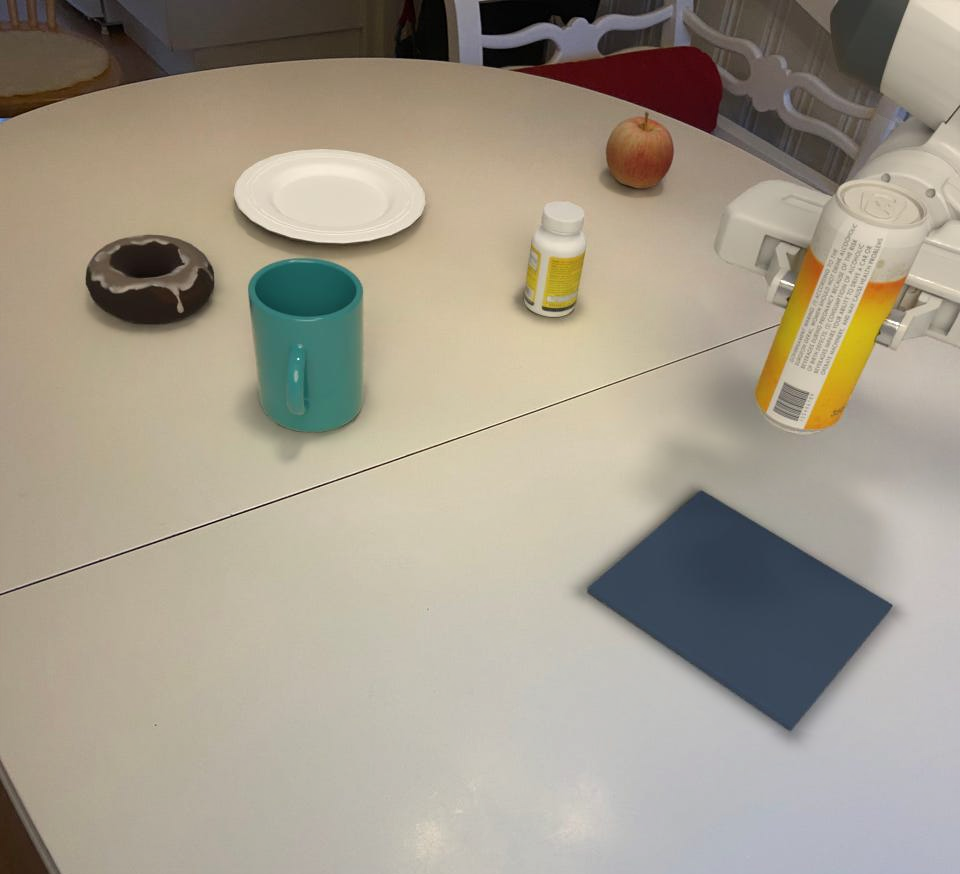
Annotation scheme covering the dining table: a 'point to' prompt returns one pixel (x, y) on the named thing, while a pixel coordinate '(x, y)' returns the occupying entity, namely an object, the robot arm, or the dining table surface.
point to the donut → (150, 279)
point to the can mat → (743, 606)
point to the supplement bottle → (556, 260)
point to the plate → (329, 197)
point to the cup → (308, 343)
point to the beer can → (840, 303)
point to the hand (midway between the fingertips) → (833, 316)
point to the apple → (639, 152)
